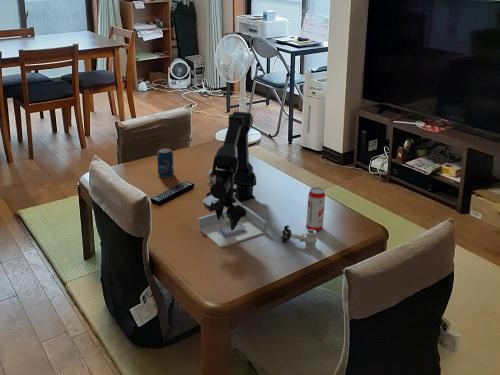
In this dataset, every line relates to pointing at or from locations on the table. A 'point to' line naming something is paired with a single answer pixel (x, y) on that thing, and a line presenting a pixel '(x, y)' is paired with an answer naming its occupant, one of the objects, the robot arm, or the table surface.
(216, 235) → the tray
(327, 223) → the table surface
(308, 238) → the valve
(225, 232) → the bracket
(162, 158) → the soda can
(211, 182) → the decorative ornament
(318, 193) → the beer can
